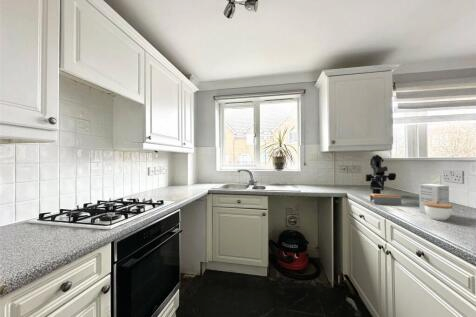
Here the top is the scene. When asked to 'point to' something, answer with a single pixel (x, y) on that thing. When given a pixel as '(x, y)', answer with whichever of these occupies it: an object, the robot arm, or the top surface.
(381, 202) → the cable duct
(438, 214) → the lidded jar
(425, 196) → the supplement box
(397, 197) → the duct cover
